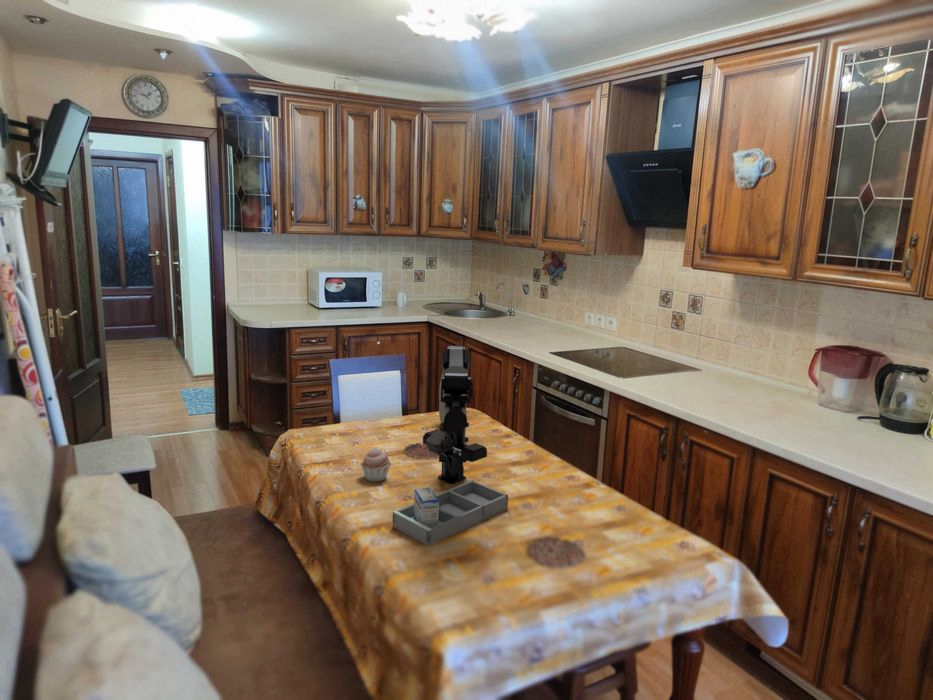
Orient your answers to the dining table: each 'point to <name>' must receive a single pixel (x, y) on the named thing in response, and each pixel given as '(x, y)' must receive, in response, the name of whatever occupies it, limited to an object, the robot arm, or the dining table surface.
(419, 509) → the medicine box
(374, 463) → the cupcake
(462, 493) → the grey compartment tray
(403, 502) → the dining table surface
